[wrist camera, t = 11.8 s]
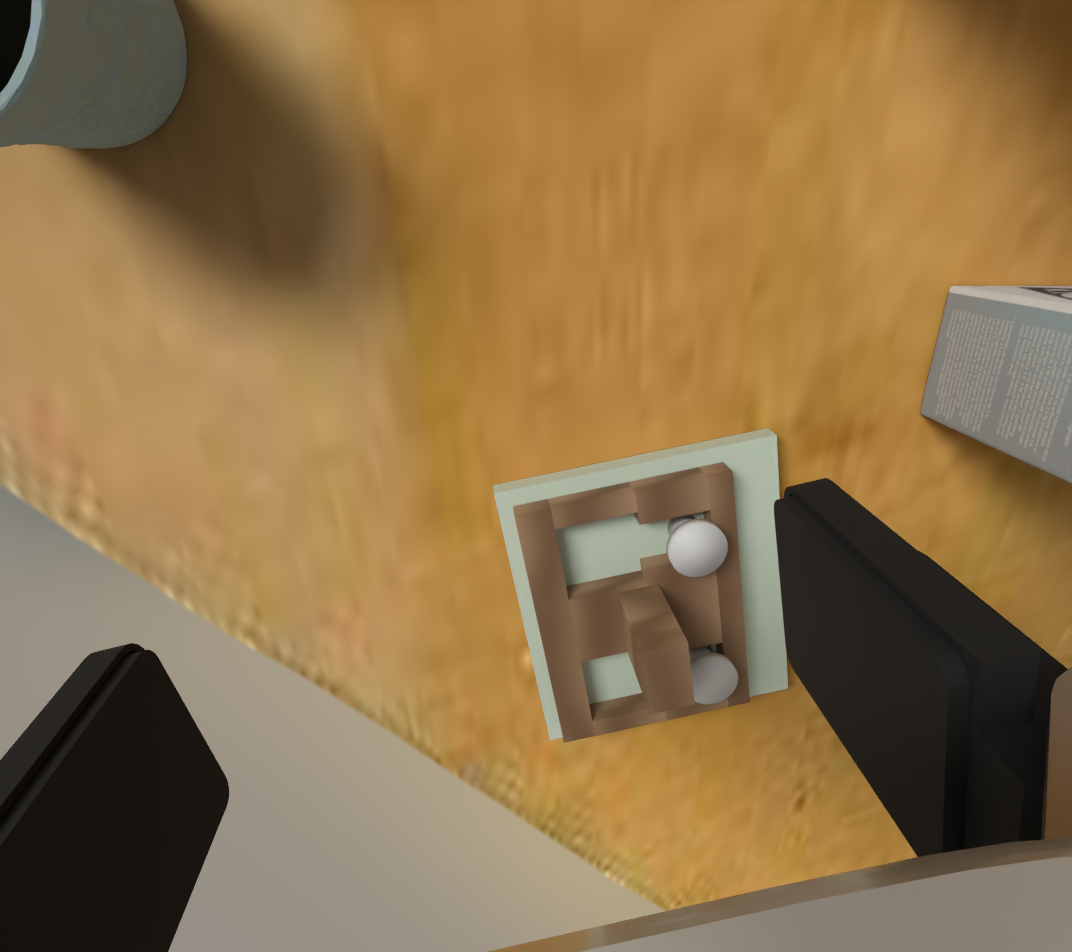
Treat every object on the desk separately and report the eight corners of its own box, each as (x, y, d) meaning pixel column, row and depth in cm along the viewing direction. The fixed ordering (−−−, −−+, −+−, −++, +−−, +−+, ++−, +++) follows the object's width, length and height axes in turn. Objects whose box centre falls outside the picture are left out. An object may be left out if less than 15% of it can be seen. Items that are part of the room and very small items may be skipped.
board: (767, 428, 38) (801, 452, 34) (780, 676, 45) (808, 720, 41) (493, 485, 38) (496, 516, 34) (548, 726, 45) (555, 775, 41)
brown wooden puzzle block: (723, 461, 37) (776, 515, 31) (740, 686, 44) (789, 769, 37) (512, 506, 37) (522, 569, 31) (560, 725, 43) (577, 816, 37)
